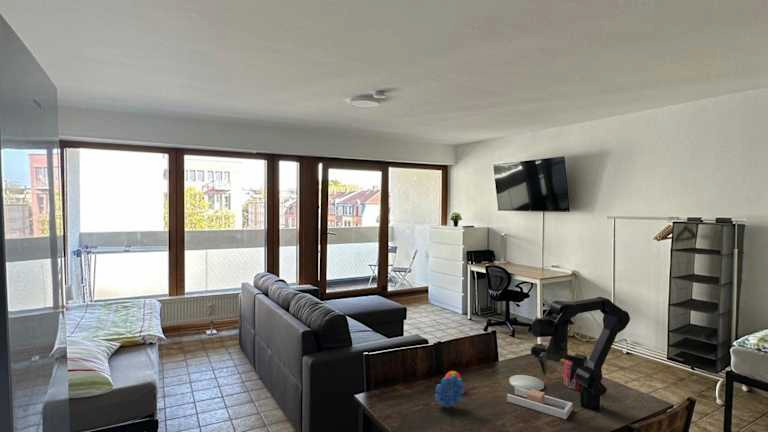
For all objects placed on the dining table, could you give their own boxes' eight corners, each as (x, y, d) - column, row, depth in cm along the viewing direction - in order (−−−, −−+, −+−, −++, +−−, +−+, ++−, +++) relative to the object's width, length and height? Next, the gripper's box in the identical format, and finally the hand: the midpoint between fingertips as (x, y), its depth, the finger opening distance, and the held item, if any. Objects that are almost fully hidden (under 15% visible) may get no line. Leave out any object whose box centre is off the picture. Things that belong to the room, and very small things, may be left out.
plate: (548, 383, 177) (548, 380, 177) (537, 394, 166) (537, 392, 166) (516, 374, 186) (516, 372, 186) (504, 384, 175) (504, 382, 175)
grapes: (461, 401, 160) (462, 370, 160) (466, 409, 153) (467, 377, 153) (431, 402, 159) (432, 370, 158) (435, 410, 152) (436, 378, 152)
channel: (572, 409, 154) (572, 403, 154) (565, 419, 147) (565, 412, 147) (515, 393, 167) (515, 386, 167) (506, 401, 160) (507, 394, 160)
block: (544, 404, 158) (544, 392, 158) (540, 409, 155) (540, 397, 154) (531, 400, 162) (531, 388, 161) (526, 405, 158) (527, 393, 157)
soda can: (578, 383, 177) (579, 355, 177) (584, 390, 170) (585, 361, 170) (561, 382, 178) (561, 354, 178) (566, 389, 171) (567, 361, 171)
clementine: (461, 393, 166) (461, 376, 166) (443, 392, 168) (444, 374, 167) (461, 385, 174) (461, 368, 174) (444, 383, 175) (445, 367, 175)
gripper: (526, 335, 152) (524, 377, 153) (580, 347, 141) (578, 393, 141) (536, 329, 161) (535, 368, 161) (589, 340, 149) (586, 383, 150)
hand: (557, 378), depth 153 cm, fingers open, 9 cm apart
